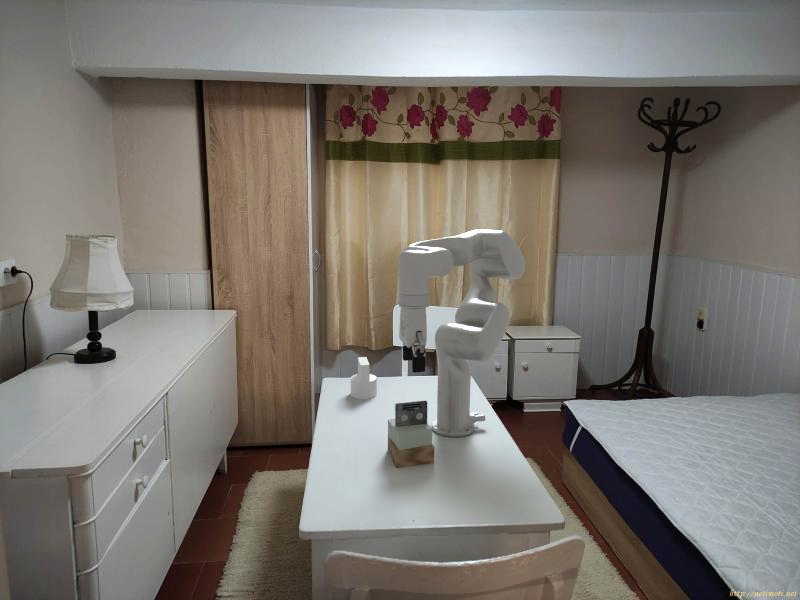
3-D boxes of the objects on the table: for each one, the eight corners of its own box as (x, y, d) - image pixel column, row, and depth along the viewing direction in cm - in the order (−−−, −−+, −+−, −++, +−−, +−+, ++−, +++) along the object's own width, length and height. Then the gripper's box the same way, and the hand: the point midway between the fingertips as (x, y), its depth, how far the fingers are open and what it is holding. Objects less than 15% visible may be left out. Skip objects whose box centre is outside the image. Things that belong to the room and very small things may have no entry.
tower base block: (423, 447, 148) (423, 430, 147) (434, 464, 139) (434, 446, 138) (387, 451, 146) (387, 433, 145) (396, 469, 136) (396, 450, 136)
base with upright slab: (349, 390, 190) (349, 357, 187) (375, 388, 191) (374, 356, 189) (352, 400, 181) (351, 365, 179) (378, 398, 183) (378, 364, 180)
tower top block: (419, 430, 147) (419, 415, 146) (432, 444, 139) (432, 428, 138) (387, 435, 144) (387, 419, 143) (399, 450, 136) (399, 433, 135)
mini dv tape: (425, 421, 142) (425, 399, 141) (427, 423, 141) (427, 401, 140) (395, 424, 140) (395, 402, 139) (396, 427, 139) (396, 404, 138)
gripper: (391, 294, 142) (391, 356, 145) (407, 307, 125) (407, 378, 129) (419, 293, 143) (418, 355, 147) (438, 306, 127) (437, 375, 130)
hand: (413, 365), depth 138 cm, fingers open, 9 cm apart
